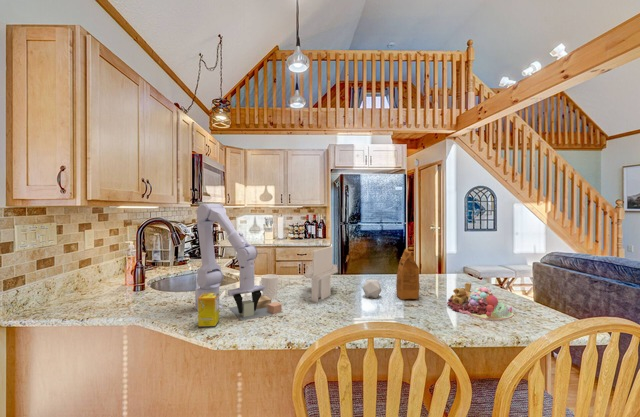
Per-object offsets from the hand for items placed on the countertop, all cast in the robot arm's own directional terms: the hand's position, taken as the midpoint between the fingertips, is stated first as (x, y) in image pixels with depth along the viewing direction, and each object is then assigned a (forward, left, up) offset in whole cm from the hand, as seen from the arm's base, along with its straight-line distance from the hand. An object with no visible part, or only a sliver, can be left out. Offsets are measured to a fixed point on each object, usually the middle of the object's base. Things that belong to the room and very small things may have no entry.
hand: (247, 311), depth 123 cm
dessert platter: (+85, -45, -2) cm, 96 cm away
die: (+58, -8, -2) cm, 59 cm away
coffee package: (+72, -17, -2) cm, 74 cm away
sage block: (0, 0, -1) cm, 1 cm away
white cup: (+17, +17, -2) cm, 24 cm away
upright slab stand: (+39, +7, -2) cm, 40 cm away
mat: (+4, +4, -2) cm, 6 cm away
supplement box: (-15, -2, -2) cm, 15 cm away
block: (+10, -2, -1) cm, 11 cm away
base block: (+9, +7, -1) cm, 11 cm away
